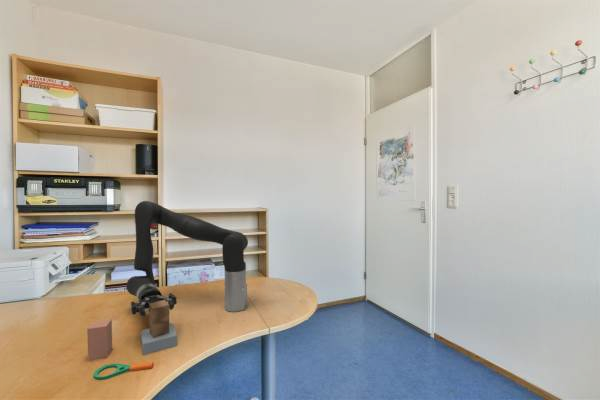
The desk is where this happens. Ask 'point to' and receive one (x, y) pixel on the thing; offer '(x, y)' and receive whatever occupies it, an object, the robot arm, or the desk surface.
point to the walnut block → (158, 318)
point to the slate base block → (158, 340)
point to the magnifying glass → (119, 369)
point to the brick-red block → (99, 339)
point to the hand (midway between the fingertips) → (158, 310)
